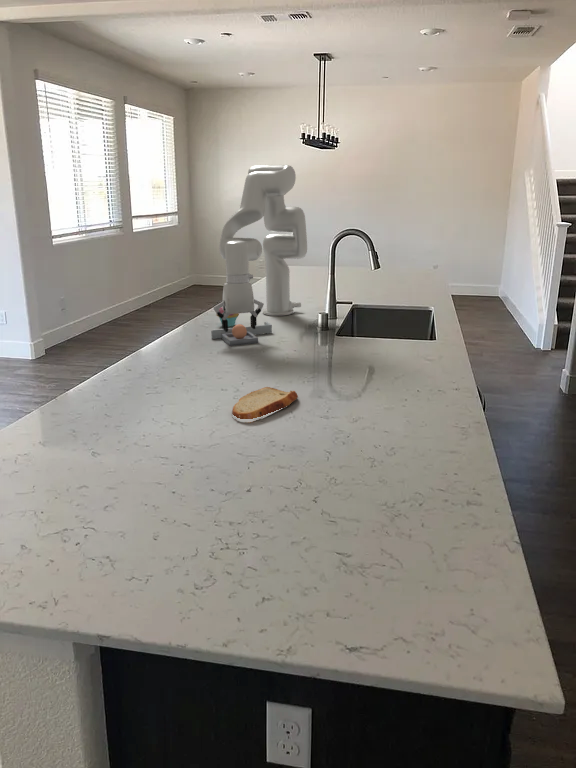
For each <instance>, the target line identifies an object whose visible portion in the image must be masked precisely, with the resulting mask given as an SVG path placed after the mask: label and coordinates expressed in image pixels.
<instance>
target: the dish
mask: <svg viewBox="0 0 576 768" xmlns="http://www.w3.org/2000/svg"><path fill="white" fill-rule="evenodd" d="M221 335H222V338H221V340H222V341H224V343H225V344H227V345H228V346H229V347H230V346H231V347H232V346H241V345H243V346H244V345H252V344H259V337H258V336H257V335H254V334H252V333H251V332H249V331H248V332H247V334H246V336H245V337H244V338H242V339H237V338H235V337H234V336H233V334H232V333H227V334H221Z"/></svg>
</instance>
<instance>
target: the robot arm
mask: <svg viewBox="0 0 576 768" xmlns="http://www.w3.org/2000/svg"><path fill="white" fill-rule="evenodd" d="M296 179H297V177H296V171H295V169H294V167H293V166H292V165H288V164H264V165H263V164H262V165H261V164H260V165H258V164H257V165H253V166H251V167H250V168H249V169H248V171H247V176H246V178H245V181H244V187H243V191H242V197H241V199H240V200H241V201H240V205H239V206H240V207H239V209H238V210H237V211H235V213H233V215H231V217H230V218H229V219H228V220H227V221H226V222H225V224H224V225H223V227H222V230H221V234H220V240H219V247H218V250H219V251H218V252H219V255H220V257H221V258H222V259H223V260H224V261H225V277H226V278H225V279H226V282H225V283H224V284H223V290H222V301H221V302H219V303H217V304H216V305H214V306H213V307H212V308H213V311H214V312H215V313H216V314H217V315H218V316H219V317H220V318H221V319H222V324H221V329H224V331H226V332H228V328H229V326H228V320H226V318H227V317H228V316H229V314H239V315H240V314H248V313H250V319H249V320H250V326H251V328H253V329H255V326H258V325H257V318H258V316H259V314H260V313H261V312H262V314H264V315H267V316H273V317H274V316H275V317H276V316H277V317H280V316H282V317H283V316H289V315H292V314H294V308H301V307H302V302H294V301H293V302H292V301H291V299H290V296H291V295H290V293H291V292H290V291H291V290H290V289H291V288H290V287H291V285H290V279H291V278H290V277H291V276H290V272H291V270H290V268H289V265H288V264H287V262H286V261H285V260H287V259H291V260H293V259H294V260H295V259H297V260H299V259H304V258H305V257H306V256H307V253H308V240H307V239H308V238H307V235H308V234H307V223H306V215H305V212H304V210H303V208H301V207H299V206H286V204H285V195H287V194H288V193H289V192H290V191H291V190H292V189H293V188H294V186H295V183H296ZM262 218H263V223H264V227H265V229H266V230H267V231H269V232H274V233H270V234H268V235H265V237H264V238H263V241H262V243H261V242H260V241H259V240H258V239H257V238H251V237H234V236H235V235H236V233H237V232H238V231H239V230H241V229H243V228H245V227H247V226H249V225H251V224H254V223H256V222H258V221H260V220H262ZM262 253H263V256H264V262H265V289H266V290H265V291H266V293H265V294H266V295H265V296H266V307H265V308H264V303H263V302H262V301H258V300H257V299H255V297H254V289H253V285H252V282H251V280H252V279H254V275H253V274H250V270H249V268H250V267H249V265H250V264H249V263H250V262H254V261H257V260H258V259H259V258H260V257H261V255H262ZM255 305H257V308H256V309H255ZM222 307H223V311H224V312H223V313H222V314H221V313H220V311H219V309H220V308H222ZM262 309H263V310H262ZM216 314H215V315H216ZM218 316H217V317H218ZM219 317H218V318H219Z"/></svg>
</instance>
